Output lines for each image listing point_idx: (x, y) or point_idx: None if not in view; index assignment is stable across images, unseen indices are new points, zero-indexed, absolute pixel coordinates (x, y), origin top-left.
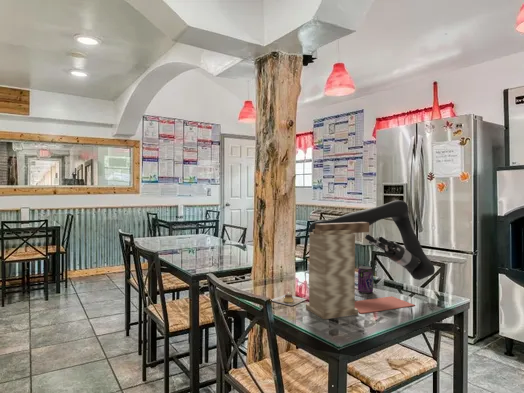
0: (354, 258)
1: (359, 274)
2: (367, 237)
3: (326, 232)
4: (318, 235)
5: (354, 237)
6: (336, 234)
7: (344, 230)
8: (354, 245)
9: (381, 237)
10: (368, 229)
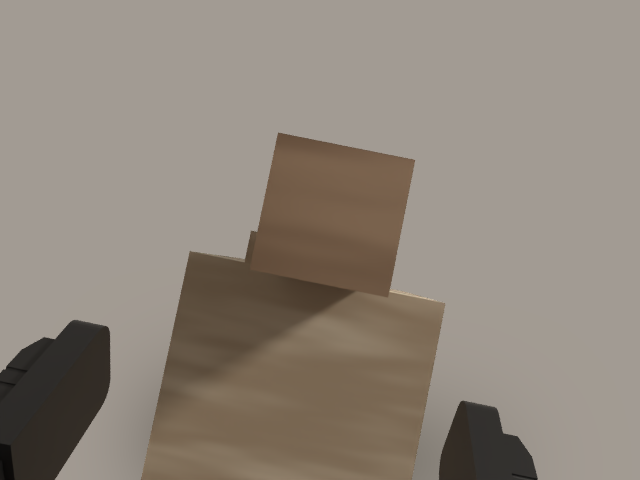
0: (146, 458)
1: None
2: (446, 458)
3: None
4: None
5: (186, 278)
6: None
7: None
8: (170, 345)
9: (69, 336)
10: (258, 230)
